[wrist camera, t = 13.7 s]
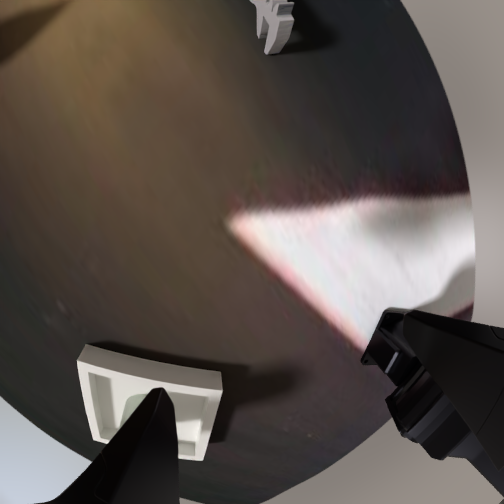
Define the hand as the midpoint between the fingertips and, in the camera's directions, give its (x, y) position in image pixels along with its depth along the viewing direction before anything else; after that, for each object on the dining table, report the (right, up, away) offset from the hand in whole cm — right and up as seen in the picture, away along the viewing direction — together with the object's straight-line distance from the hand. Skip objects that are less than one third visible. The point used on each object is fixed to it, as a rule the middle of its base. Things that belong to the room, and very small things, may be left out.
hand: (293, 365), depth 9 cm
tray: (-12, -12, +15) cm, 23 cm away
